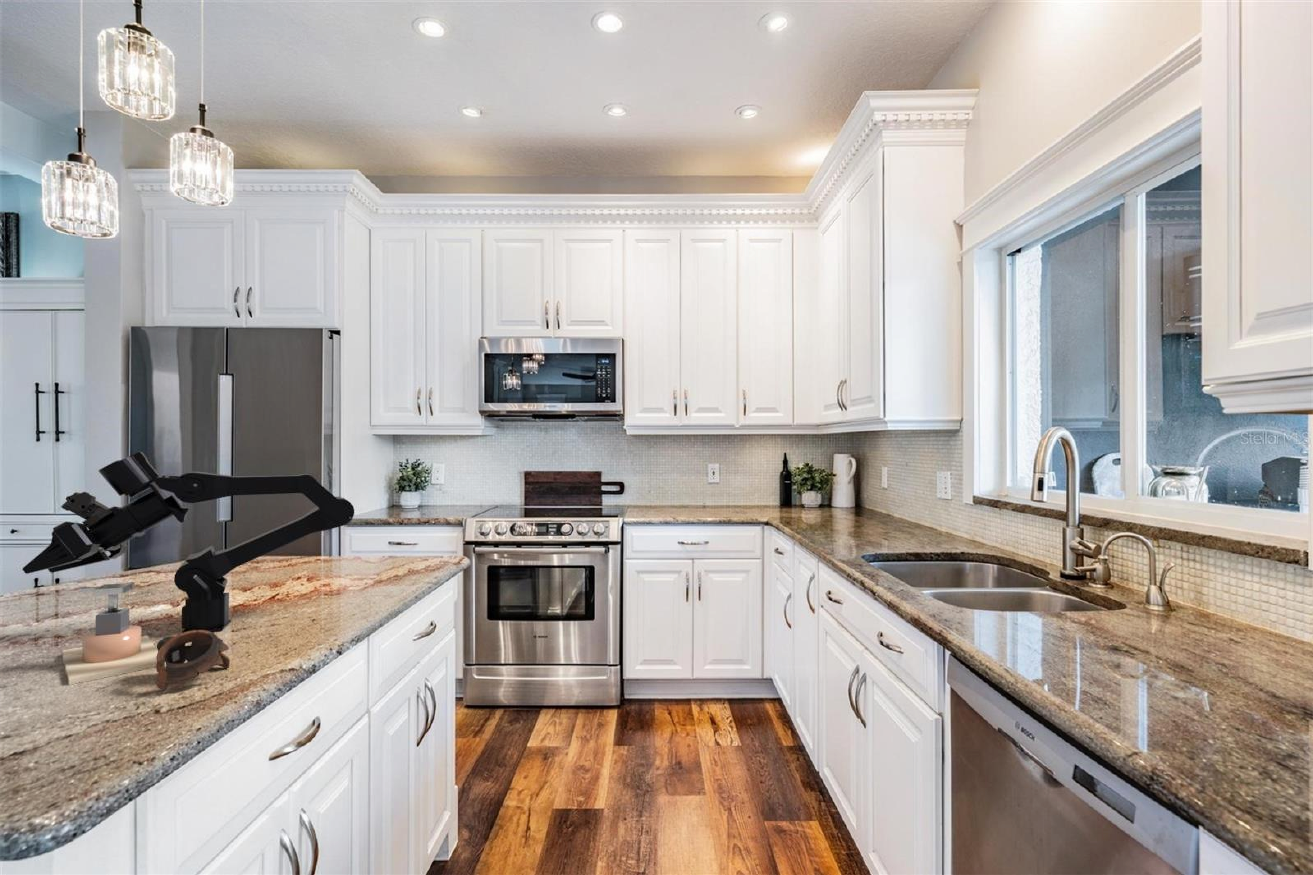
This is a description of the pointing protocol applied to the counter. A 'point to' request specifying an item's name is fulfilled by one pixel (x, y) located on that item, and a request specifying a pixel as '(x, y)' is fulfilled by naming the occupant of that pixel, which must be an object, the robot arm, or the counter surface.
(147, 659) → the birch board
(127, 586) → the pump head
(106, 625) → the pump jar
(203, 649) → the brown ring stand
